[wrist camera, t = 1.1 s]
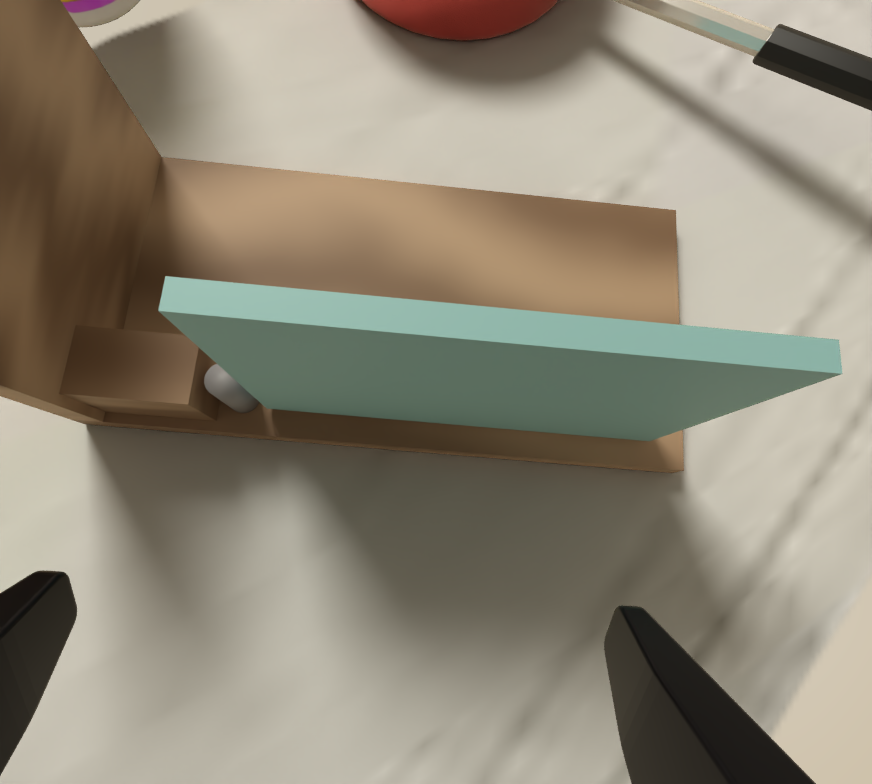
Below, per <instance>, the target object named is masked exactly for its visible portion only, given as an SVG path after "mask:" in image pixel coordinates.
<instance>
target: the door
mask: <svg viewBox="0 0 872 784" xmlns="http://www.w3.org/2000/svg"><path fill="white" fill-rule="evenodd" d="M158 311H159V312H160V313H161V314H162V315H163V316H165V317H166V318H167V319H168V320H169V321H170V322H171V323H172V324H173V325H175V326H176V327H177V328H178V329H179V330H180V331H181V332H182V333H183V334H185V335H186V336H187V337H188V338H189V339H190V340H191V341H192V342H193V343H195V344H196V345H197V346H198V347H199V348H200V349H201V350H202V351H203V352H205V353H206V354H207V355H208V356H209V357H210V358H211V359H212V360H213V361H214V362H216V363H217V364H215V365H213V366H212V367H211V368H209V370H208V371H207V372H206V374H205V378H204V384H205V387H206V389H207V390H208V392H209V393H211V394H212V395H214V396H215V397H216V398H218V399H219V400H221V401H222V402H223V403H225V404H226V405H228V406H229V407H230V408H232V409H233V410H235V411H236V412H239V413H247V412H250V411H252V410H254V409H255V408H256V407H257V405H258V403H259V402H260V403H261V404H262V405H263V406H264V407H266V408H267V409H277V410H289V411H301V412H312V413H324V414H336V415H347V416H359V417H371V418H383V419H394V420H406V421H418V422H429V423H441V424H453V425H464V426H476V427H488V428H500V429H511V430H523V431H535V432H546V433H558V434H570V435H581V436H593V437H605V438H617V439H628V440H640V441H652V440H655V439H658V438H660V437H663V436H666V435H669V434H672V433H675V432H678V431H680V430H683V429H686V428H689V427H692V426H695V425H698V424H700V423H703V422H706V421H709V420H712V419H715V418H718V417H720V416H723V415H726V414H729V413H732V412H735V411H738V410H740V409H743V408H746V407H749V406H752V405H755V404H758V403H760V402H763V401H766V400H769V399H772V398H775V397H777V396H780V395H783V394H786V393H789V392H792V391H795V390H797V389H800V388H803V387H806V386H809V385H812V384H815V383H817V382H820V381H823V380H826V379H829V378H832V377H835V376H837V375H840V374H842V366H841V356H840V346H839V340H835V339H825V338H814V337H803V336H793V335H782V334H772V333H761V332H751V331H740V330H730V329H719V328H708V327H698V326H687V325H677V324H666V323H656V322H645V321H634V320H624V319H613V318H603V317H592V316H582V315H571V314H560V313H550V312H539V311H529V310H518V309H508V308H497V307H486V306H476V305H465V304H455V303H444V302H434V301H423V300H412V299H402V298H391V297H381V296H370V295H360V294H349V293H338V292H328V291H317V290H307V289H296V288H286V287H275V286H264V285H254V284H243V283H233V282H222V281H212V280H201V279H190V278H180V277H169V276H165V281H164V286H163V291H162V295H161V300H160V305H159V310H158Z"/></svg>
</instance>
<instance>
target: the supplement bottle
mask: <svg viewBox="0 0 872 784" xmlns="http://www.w3.org/2000/svg"><path fill="white" fill-rule="evenodd" d="M139 1H140V0H61V2H62V3H63V5H64V6H65V8H66V9H67V11H68V12H69V14H70V16H71V17H72V19H73V20H74V22H75V23H76V25H77V26H78V27H92V26H98V25H102V24H105V23H108V22H111V21H113V20H116V19H118V18H119V17H121V16H123V15H124V14H126V13H127V12H129V11H130V10H131V9H132V8H133V7H134V6H135V5H136V4H137V3H138V2H139Z"/></svg>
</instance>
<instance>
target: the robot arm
mask: <svg viewBox="0 0 872 784" xmlns="http://www.w3.org/2000/svg"><path fill="white" fill-rule="evenodd" d="M76 616H77V605H76V601H75V598H74V594H73V590H72V587H71V583H70V579H69V577H68V575H67V574H66V573H64V572H59V571H37V572H34V573H32V574H31V575H29V576H27V577H26V578H24V579H22V580H21V581H19V582H18V583H16V584H14V585H13V586H11V587H10V588H8V589H6V590H5V591H3V592H2V593H0V775H1V773H2V772H3V770H4V768H5V766H6V765H7V763H8V761H9V759H10V757H11V756H12V754H13V752H14V750H15V749H16V747H17V745H18V743H19V742H20V740H21V738H22V736H23V734H24V732H25V731H26V729H27V727H28V725H29V723H30V721H31V719H32V717H33V715H34V713H35V711H36V709H37V707H38V705H39V702H40V700H41V698H42V696H43V693H44V691H45V689H46V687H47V684H48V682H49V680H50V677H51V675H52V673H53V671H54V668H55V666H56V664H57V662H58V659H59V657H60V655H61V653H62V650H63V648H64V646H65V644H66V641H67V639H68V637H69V634H70V632H71V630H72V628H73V625H74V623H75V620H76ZM604 650H605V657H606V662H607V668H608V674H609V680H610V685H611V691H612V697H613V702H614V708H615V714H616V720H617V725H618V731H619V736H620V741H621V746H622V750H623V754H624V758H625V761H626V765H627V769H628V772H629V776H630V779H631V783H632V784H816V783H815V782H814V781H813V780H812V779H811V778H810V777H809V776H808V775H807V774H806V773H805V772H804V771H803V770H802V769H801V768H800V767H799V766H798V765H797V764H796V763H795V762H794V761H793V760H792V759H791V758H790V757H789V756H788V755H787V754H786V753H785V752H784V751H783V750H782V749H781V748H780V747H779V746H778V745H777V744H776V743H775V742H774V741H773V740H772V739H771V737H770V736H769V735H768V734H767V733H766V732H765V731H764V730H763V729H762V728H761V727H760V726H759V725H758V724H757V723H756V722H755V721H754V720H753V719H752V718H751V717H750V716H749V715H748V714H747V713H746V712H745V711H744V710H743V709H742V708H741V707H740V706H739V705H738V704H737V703H736V702H735V701H734V700H733V699H732V698H731V697H730V696H729V695H728V694H727V693H726V692H725V691H724V690H723V689H722V688H721V687H720V686H719V685H718V684H717V683H716V681H715V680H714V679H713V678H712V677H711V676H710V675H709V674H708V673H707V672H706V671H705V670H704V669H703V668H702V667H701V666H700V665H699V664H698V663H697V662H696V661H695V660H694V659H693V658H692V657H691V656H690V655H689V654H688V653H687V652H686V651H685V650H684V649H683V648H682V647H681V646H680V645H679V644H678V643H677V642H676V641H675V640H674V639H673V638H672V637H671V636H670V635H669V634H668V633H667V632H666V631H665V630H664V629H663V628H662V627H661V625H660V624H659V623H658V622H657V621H656V620H655V619H654V618H653V617H652V616H651V615H650V614H649V613H648V612H647V611H646V610H644V609H643V608H641V607H637V606H618V607H617V608H616V609H615V611H614V614H613V617H612V620H611V622H610V625H609V628H608V631H607V633H606V636H605V642H604Z"/></svg>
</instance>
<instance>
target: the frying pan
mask: <svg viewBox="0 0 872 784" xmlns="http://www.w3.org/2000/svg"><path fill="white" fill-rule="evenodd" d="M361 1H362V2H363V3H364V4H365V5H367V6H368V7H369V8H370V9H371V10H373V11H374V12H376V13H377V14H379V15H380V16H382V17H383V18H385V19H386V20H388V21H389V22H391V23H393V24H395V25H398V26H400V27H402V28H405V29H407V30H409V31H412V32H414V33H418V34H422V35H426V36H430V37H434V38H438V39H450V40H462V41H465V40H477V39H488V38H492V37H496V36H500V35H504V34H508V33H511V32H513V31H515V30H518V29H520V28H522V27H524V26H526V25H528V24H530V23H533V22H534V21H535V20H537V19H538V18H539V17H541V16H542V15H544V14H545V13H546V12H548V11H549V10H550V9H551V8H552V7H553V6H554V5H555V4H556V2H557V1H558V0H361ZM613 1H615V2H618V3H620V4H623V5H625V6H628V7H630V8H633V9H635V10H638V11H640V12H643V13H645V14H648V15H651V16H653V17H656V18H658V19H661V20H663V21H666V22H668V23H671V24H673V25H676V26H678V27H681V28H683V29H686V30H688V31H691V32H694V33H696V34H699V35H701V36H704V37H706V38H709V39H711V40H714V41H716V42H719V43H721V44H724V45H726V46H729V47H732V48H734V49H737V50H739V51H742V52H744V53H747V54H749V55H752V56H754V59H753V63H754V64H756V65H758V66H761V67H763V68H766V69H768V70H771V71H773V72H776V73H778V74H781V75H783V76H786V77H788V78H791V79H793V80H796V81H798V82H801V83H803V84H806V85H808V86H811V87H813V88H816V89H819V90H821V91H824V92H826V93H829V94H831V95H834V96H836V97H839V98H841V99H844V100H846V101H849V102H851V103H854V104H856V105H859V106H861V107H864V108H866V109H869V110H871V111H872V58H870V57H867V56H865V55H862V54H859V53H857V52H854V51H851V50H849V49H846V48H843V47H841V46H838V45H835V44H833V43H830V42H827V41H825V40H822V39H819V38H817V37H814V36H811V35H809V34H806V33H803V32H801V31H798V30H795V29H793V28H790V27H787V26H785V25H782V24H779V25H778V26H777V27H776V28H775V29H772V28H770V27H767V26H764V25H762V24H759V23H756V22H754V21H751V20H748V19H746V18H743V17H740V16H738V15H735V14H733V13H730V12H727V11H725V10H722V9H719V8H717V7H714V6H711V5H709V4H706V3H704V2H701V1H698V0H613Z"/></svg>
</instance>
